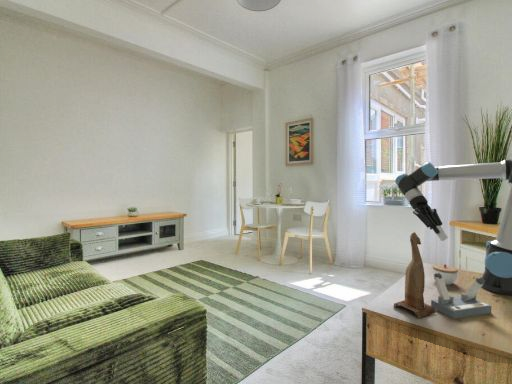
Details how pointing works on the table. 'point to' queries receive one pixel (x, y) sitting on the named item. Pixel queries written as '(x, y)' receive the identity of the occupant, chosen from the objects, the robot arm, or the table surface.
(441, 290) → the lever
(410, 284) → the bird sculpture
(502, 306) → the table surface
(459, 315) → the switch unit
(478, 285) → the marked lever
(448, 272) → the lidded jar
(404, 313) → the table surface
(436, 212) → the robot arm
